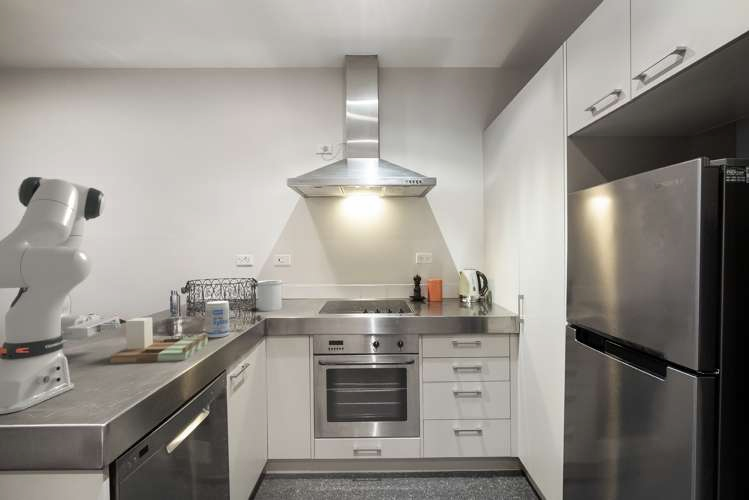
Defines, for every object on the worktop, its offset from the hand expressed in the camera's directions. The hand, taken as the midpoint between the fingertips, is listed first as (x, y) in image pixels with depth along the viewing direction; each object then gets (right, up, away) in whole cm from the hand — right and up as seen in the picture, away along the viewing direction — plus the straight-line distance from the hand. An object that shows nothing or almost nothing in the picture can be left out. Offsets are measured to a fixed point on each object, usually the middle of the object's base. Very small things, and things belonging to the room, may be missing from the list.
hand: (118, 325), depth 134 cm
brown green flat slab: (+16, -10, +1) cm, 19 cm away
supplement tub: (+25, -10, +27) cm, 38 cm away
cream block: (+8, -8, +1) cm, 11 cm away
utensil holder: (+29, -9, +94) cm, 99 cm away
